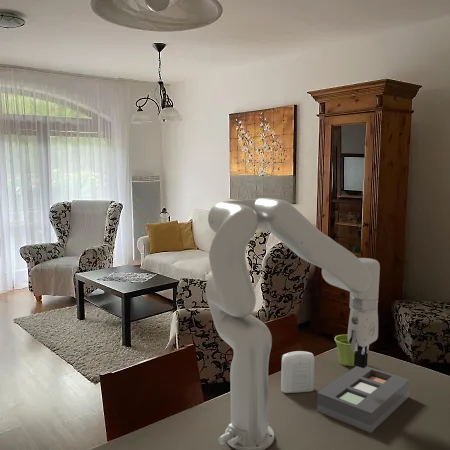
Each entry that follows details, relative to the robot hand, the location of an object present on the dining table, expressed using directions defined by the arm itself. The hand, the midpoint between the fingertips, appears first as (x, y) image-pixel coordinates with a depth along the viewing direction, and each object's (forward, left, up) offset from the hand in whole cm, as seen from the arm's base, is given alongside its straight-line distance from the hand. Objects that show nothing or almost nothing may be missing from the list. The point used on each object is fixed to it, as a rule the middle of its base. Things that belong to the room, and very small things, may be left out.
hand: (360, 365), depth 130 cm
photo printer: (-3, +19, -13) cm, 23 cm away
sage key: (-5, 0, -9) cm, 11 cm away
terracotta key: (+11, 0, -10) cm, 15 cm away
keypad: (+3, 0, -12) cm, 13 cm away
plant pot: (+25, +17, -13) cm, 32 cm away
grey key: (+3, 0, -9) cm, 10 cm away
